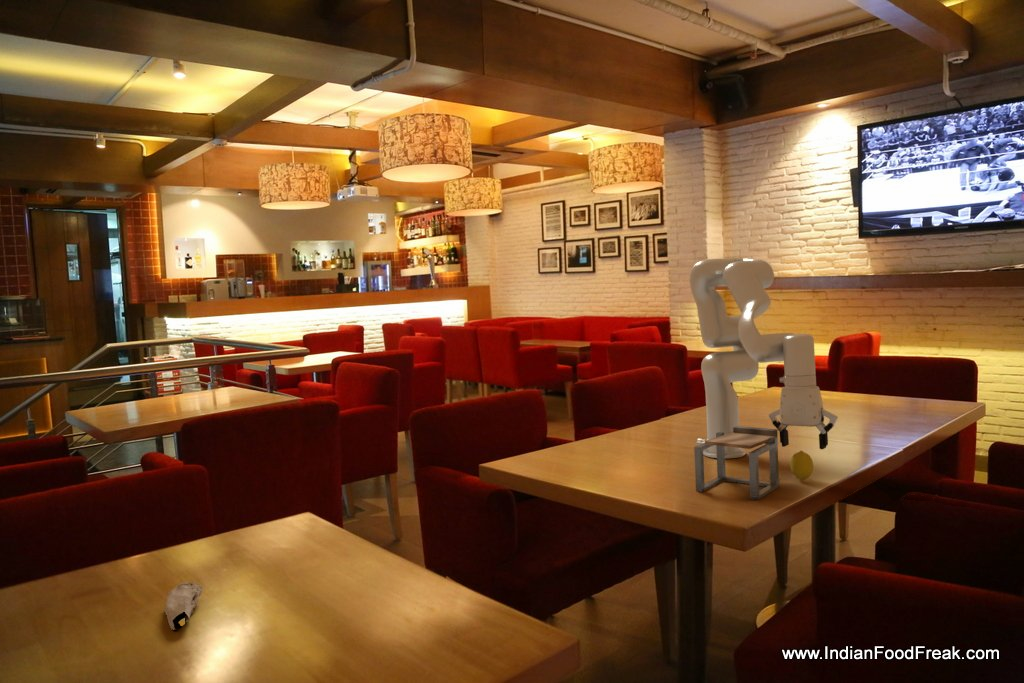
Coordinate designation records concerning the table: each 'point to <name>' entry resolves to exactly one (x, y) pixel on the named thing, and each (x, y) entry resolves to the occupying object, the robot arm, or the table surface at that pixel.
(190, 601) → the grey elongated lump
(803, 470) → the lemon
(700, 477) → the frame
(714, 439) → the trapdoor
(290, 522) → the table surface
